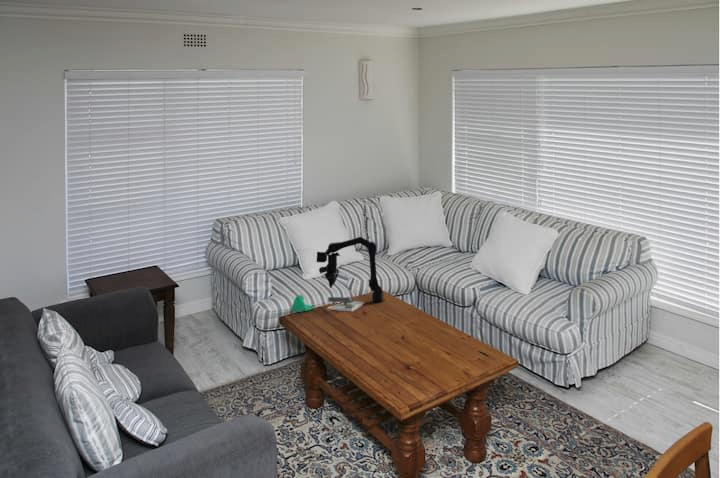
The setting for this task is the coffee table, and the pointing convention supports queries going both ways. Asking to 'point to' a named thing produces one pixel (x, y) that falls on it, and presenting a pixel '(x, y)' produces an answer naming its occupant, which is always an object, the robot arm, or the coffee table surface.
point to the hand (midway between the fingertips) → (331, 286)
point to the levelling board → (342, 307)
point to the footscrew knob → (340, 299)
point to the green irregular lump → (300, 304)
